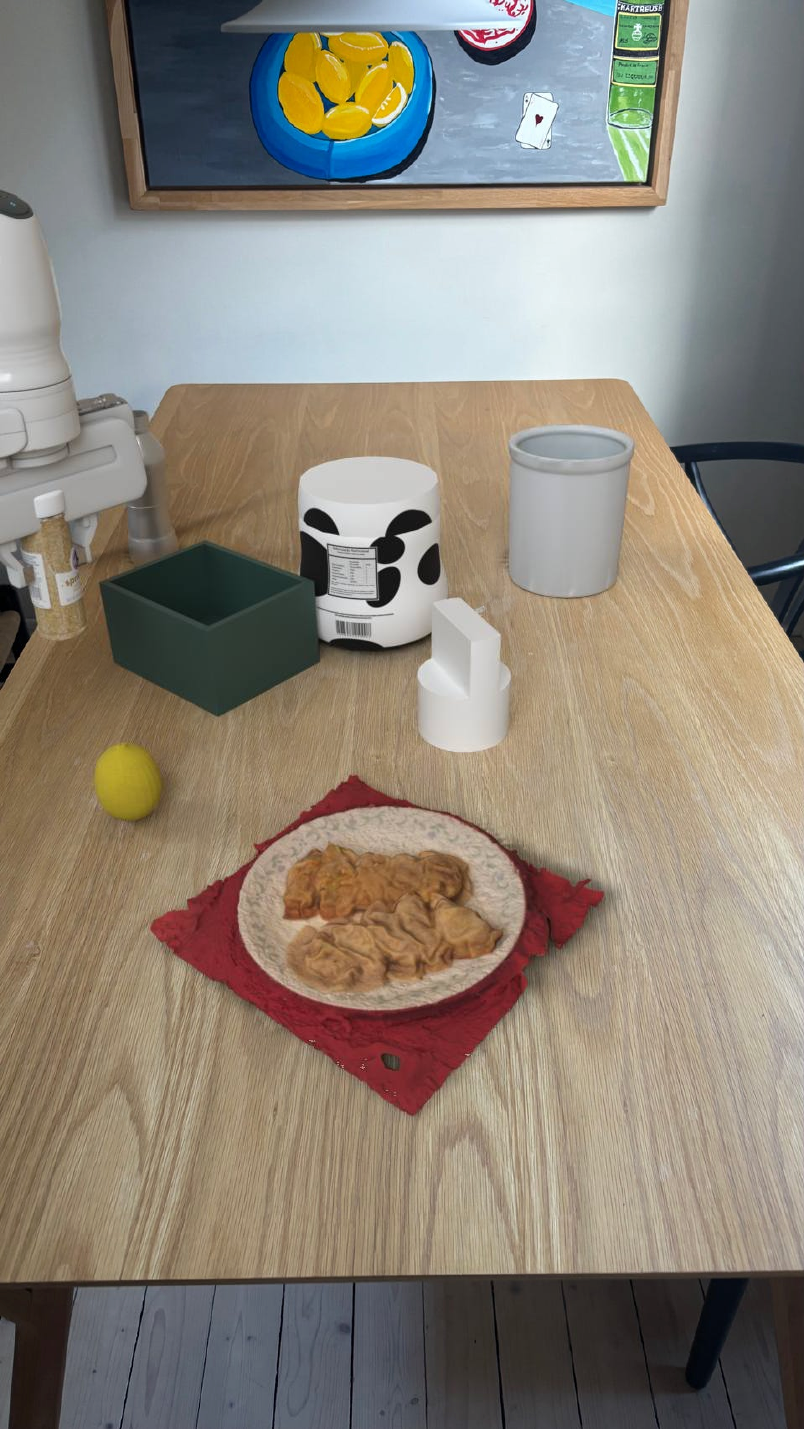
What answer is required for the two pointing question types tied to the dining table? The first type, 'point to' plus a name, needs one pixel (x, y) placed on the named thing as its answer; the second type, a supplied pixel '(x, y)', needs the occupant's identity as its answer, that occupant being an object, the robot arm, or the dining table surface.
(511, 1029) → the dining table surface
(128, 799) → the lemon
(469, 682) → the cylinder with rectangular tab
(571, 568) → the utensil holder
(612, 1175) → the dining table surface
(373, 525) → the milk container
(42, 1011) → the dining table surface
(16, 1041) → the dining table surface
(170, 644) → the bin
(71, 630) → the sprinkles bottle
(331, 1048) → the plate with food
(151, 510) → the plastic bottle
